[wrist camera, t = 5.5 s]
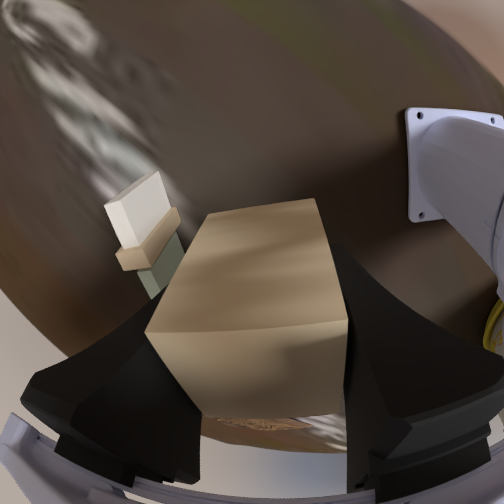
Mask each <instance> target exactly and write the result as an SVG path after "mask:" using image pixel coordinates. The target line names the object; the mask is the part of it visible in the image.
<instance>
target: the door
mask: <svg viewBox="0 0 504 504" xmlns="http://www.w3.org/2000/svg"><path fill="white" fill-rule="evenodd" d="M184 256H185V253H184V250H183V248H182V245H181V243H180V240H179V238H178V235H177V232H176V231H175V232H174V233H173V235H172V236H171V238H170V239H169V241H168V242H167V244H166V245H165V247H164V248H163V250H162V251H161V253H160V254H159V256H158V257H157V259H156V260H155V262H154V263H153V265H152V267H149V268H142V269H139V270H138V272H137V274H138V276H139V277H140V279H141V281H142V283H143V285H144V287H145V289H146V291H147V293H148V294H149V296H150V298H151V299H153V298H154V297H155V296H156V295H157V294H158V293H159V292H160V291H161V290H162V289H163V288H164V287H165V286H167V285H168V284H169V283H170V281H171V279H172V278H173V276H174V274H175V272H176V270H177V268H178V266H179V265H180V263H181V261H182V259H183V257H184Z"/></svg>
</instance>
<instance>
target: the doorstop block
mask: <svg viewBox="0 0 504 504" xmlns="http://www.w3.org/2000/svg"><path fill="white" fill-rule="evenodd" d="M347 332H348V317H347V312H346V308H345V304H344V300H343V296H342V292H341V288H340V284H339V280H338V276H337V273H336V269H335V265H334V262H333V258H332V254H331V251H330V247H329V244H328V241H327V237H326V234H325V231H324V227H323V224H322V221H321V218H320V215H319V211H318V208H317V205H316V202H315V199H314V198H311V199H303V200H296V201H289V202H282V203H275V204H268V205H261V206H255V207H248V208H242V209H236V210H230V211H224V212H218V213H212V214H208V215H207V217H206V219H205V221H204V222H203V224H202V226H201V227H200V229H199V231H198V233H197V234H196V236H195V238H194V240H193V241H192V243H191V245H190V247H189V248H188V250H187V252H186V254H185V256H184V257H183V259H182V261H181V263H180V265H179V266H178V268H177V270H176V272H175V274H174V276H173V278H172V279H171V281H170V283H169V285H168V287H167V289H166V291H165V293H164V295H163V296H162V298H161V300H160V302H159V304H158V306H157V308H156V310H155V312H154V314H153V316H152V318H151V320H150V322H149V324H148V326H147V328H146V330H145V332H144V333H145V334H146V336H147V338H148V339H149V341H150V342H151V344H152V345H153V347H154V348H155V350H156V351H157V353H158V354H159V356H160V357H161V359H162V360H163V362H164V363H165V365H166V366H167V367H168V369H169V370H170V372H171V373H172V374H173V376H174V377H175V379H176V380H177V381H178V383H179V384H180V385H181V387H182V388H183V389H184V391H185V392H186V393H187V395H188V396H189V397H190V398H191V400H192V401H193V402H194V403H195V405H196V406H197V407H198V408H199V410H200V411H201V412H202V413H203V414H204V416H205V417H214V418H235V419H274V418H295V417H309V416H320V415H329V414H337V413H340V406H341V399H342V391H343V382H344V372H345V361H346V348H347Z"/></svg>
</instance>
